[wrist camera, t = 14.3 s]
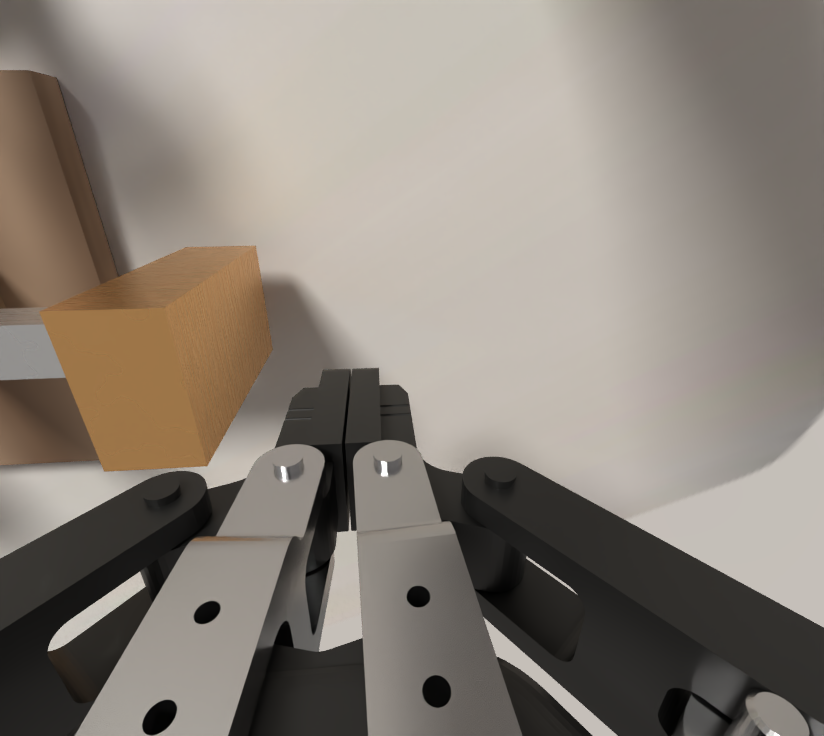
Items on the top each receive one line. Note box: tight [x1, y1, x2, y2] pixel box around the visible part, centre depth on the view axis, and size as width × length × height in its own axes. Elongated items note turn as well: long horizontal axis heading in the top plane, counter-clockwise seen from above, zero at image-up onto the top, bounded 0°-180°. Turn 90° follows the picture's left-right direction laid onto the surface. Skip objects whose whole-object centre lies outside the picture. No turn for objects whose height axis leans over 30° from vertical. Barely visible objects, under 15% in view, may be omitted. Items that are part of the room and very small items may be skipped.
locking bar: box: [0, 246, 273, 471], centre depth 15 cm, size 15×5×9 cm, turn 91°
